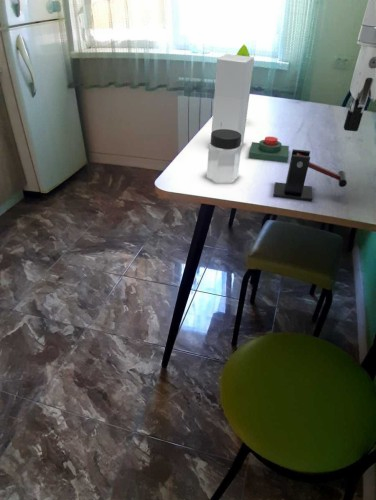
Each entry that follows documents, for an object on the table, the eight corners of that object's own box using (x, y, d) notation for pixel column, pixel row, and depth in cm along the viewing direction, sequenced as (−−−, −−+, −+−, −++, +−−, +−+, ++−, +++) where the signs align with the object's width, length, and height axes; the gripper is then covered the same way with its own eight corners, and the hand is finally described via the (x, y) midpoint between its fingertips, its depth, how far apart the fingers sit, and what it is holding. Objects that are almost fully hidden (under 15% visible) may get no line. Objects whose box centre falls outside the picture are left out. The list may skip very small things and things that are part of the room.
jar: (243, 181, 116) (249, 136, 108) (220, 187, 113) (225, 141, 105) (223, 170, 122) (227, 126, 113) (201, 175, 118) (204, 131, 110)
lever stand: (310, 190, 114) (320, 150, 106) (311, 203, 108) (322, 161, 100) (274, 186, 115) (282, 146, 107) (273, 198, 109) (281, 156, 102)
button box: (287, 152, 135) (290, 140, 132) (286, 164, 127) (289, 150, 125) (251, 148, 136) (252, 136, 133) (248, 159, 129) (250, 146, 126)
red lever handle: (341, 179, 109) (346, 171, 107) (343, 189, 105) (348, 180, 103) (292, 158, 108) (297, 149, 106) (292, 167, 104) (297, 158, 102)
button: (276, 143, 130) (278, 137, 129) (276, 147, 127) (277, 141, 126) (264, 141, 131) (265, 135, 130) (263, 145, 128) (264, 140, 127)
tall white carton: (209, 149, 134) (216, 58, 117) (218, 141, 140) (226, 53, 123) (235, 153, 132) (246, 62, 115) (243, 145, 138) (254, 57, 121)
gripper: (402, 43, 81) (370, 141, 93) (389, 33, 91) (362, 122, 104) (363, 40, 81) (336, 138, 94) (355, 30, 92) (332, 119, 105)
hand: (350, 129), depth 99 cm, fingers closed
